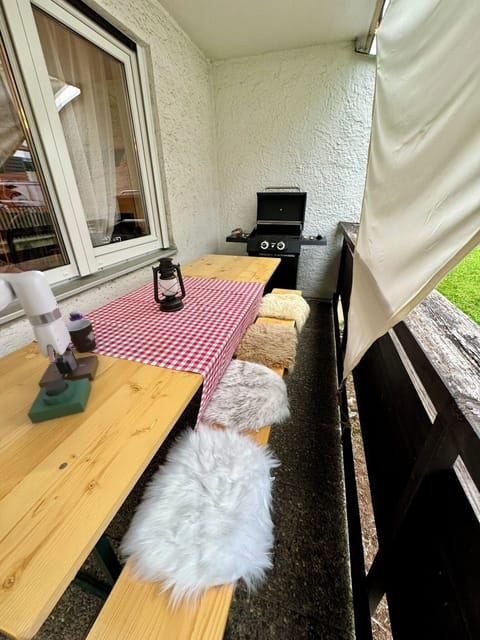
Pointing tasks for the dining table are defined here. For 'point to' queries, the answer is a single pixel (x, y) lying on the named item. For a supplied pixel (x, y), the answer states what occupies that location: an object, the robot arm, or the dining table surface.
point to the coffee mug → (82, 335)
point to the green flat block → (61, 402)
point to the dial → (69, 359)
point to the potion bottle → (75, 316)
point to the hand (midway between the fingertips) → (68, 366)
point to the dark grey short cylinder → (56, 387)
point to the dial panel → (82, 371)
